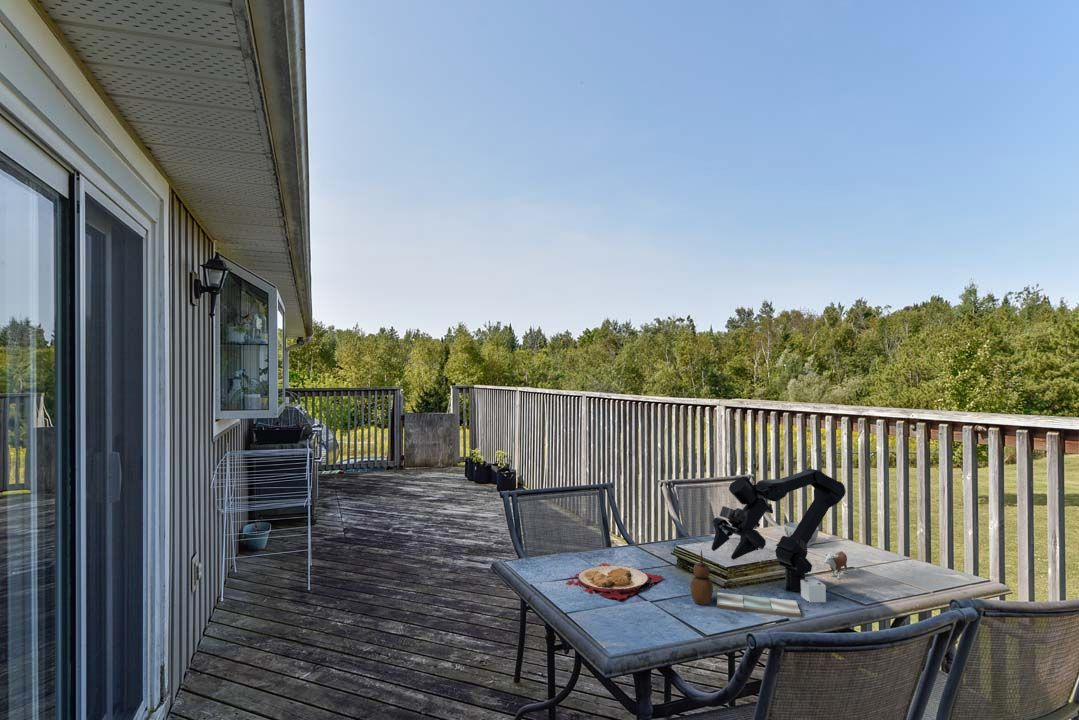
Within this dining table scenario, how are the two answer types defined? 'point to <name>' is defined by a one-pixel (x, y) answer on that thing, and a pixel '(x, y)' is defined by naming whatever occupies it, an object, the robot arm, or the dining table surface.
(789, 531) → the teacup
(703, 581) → the wooden figurine
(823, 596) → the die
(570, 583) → the plate with food
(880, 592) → the dining table surface
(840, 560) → the bull figurine
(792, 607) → the board
